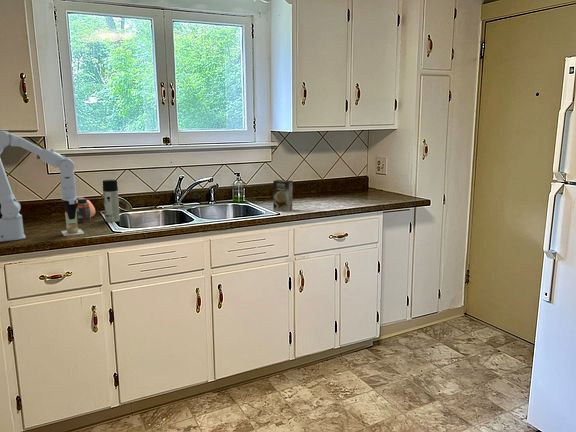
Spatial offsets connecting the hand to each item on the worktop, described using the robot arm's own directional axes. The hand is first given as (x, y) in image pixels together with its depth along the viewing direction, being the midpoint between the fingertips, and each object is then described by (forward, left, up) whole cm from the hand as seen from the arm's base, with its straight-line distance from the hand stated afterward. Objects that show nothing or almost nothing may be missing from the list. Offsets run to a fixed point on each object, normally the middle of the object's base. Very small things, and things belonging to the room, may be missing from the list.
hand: (71, 218), depth 206 cm
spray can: (+20, +17, -7) cm, 27 cm away
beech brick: (0, 0, -6) cm, 6 cm away
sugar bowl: (+8, +34, -7) cm, 36 cm away
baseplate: (0, 0, -7) cm, 7 cm away
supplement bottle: (+8, +23, -7) cm, 25 cm away
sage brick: (0, 0, -2) cm, 2 cm away
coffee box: (+105, -1, -7) cm, 105 cm away
